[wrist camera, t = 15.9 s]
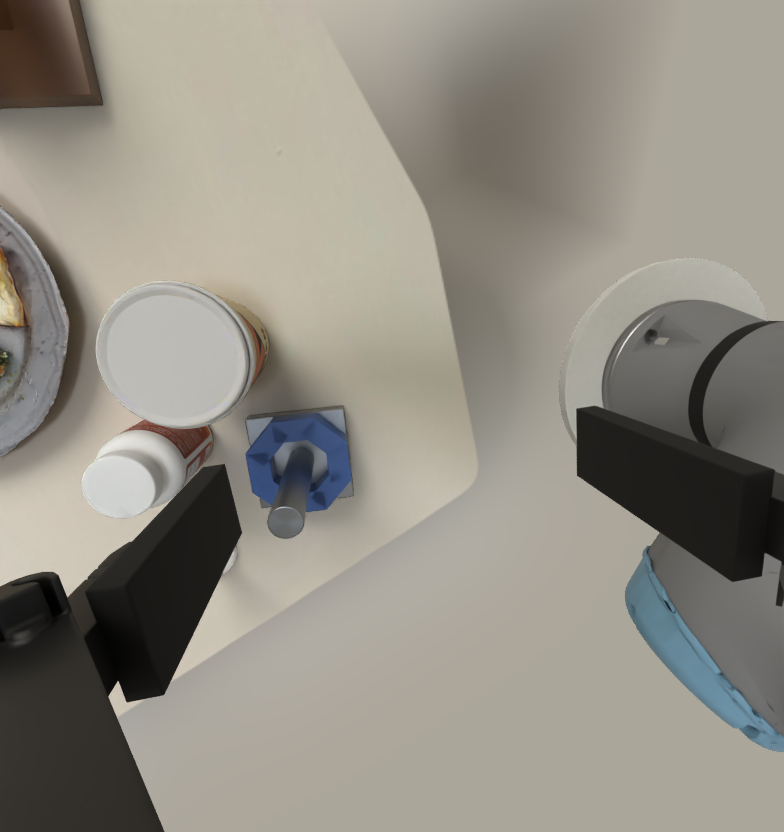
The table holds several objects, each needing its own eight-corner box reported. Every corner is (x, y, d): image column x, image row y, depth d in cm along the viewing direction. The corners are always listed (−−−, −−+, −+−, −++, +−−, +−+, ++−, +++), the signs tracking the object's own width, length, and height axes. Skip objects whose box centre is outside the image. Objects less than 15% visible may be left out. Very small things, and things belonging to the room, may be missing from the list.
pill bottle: (136, 411, 37) (54, 451, 26) (206, 402, 37) (153, 438, 27) (154, 474, 38) (83, 536, 28) (221, 464, 39) (176, 521, 28)
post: (343, 405, 39) (345, 451, 26) (353, 489, 41) (360, 571, 28) (248, 415, 38) (201, 468, 25) (264, 501, 40) (228, 590, 27)
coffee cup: (262, 408, 38) (229, 449, 27) (159, 376, 36) (75, 406, 25) (291, 313, 36) (269, 313, 25) (184, 274, 34) (106, 254, 23)
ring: (343, 409, 38) (343, 414, 36) (353, 496, 40) (354, 505, 38) (244, 419, 37) (239, 425, 35) (261, 508, 39) (257, 519, 37)
